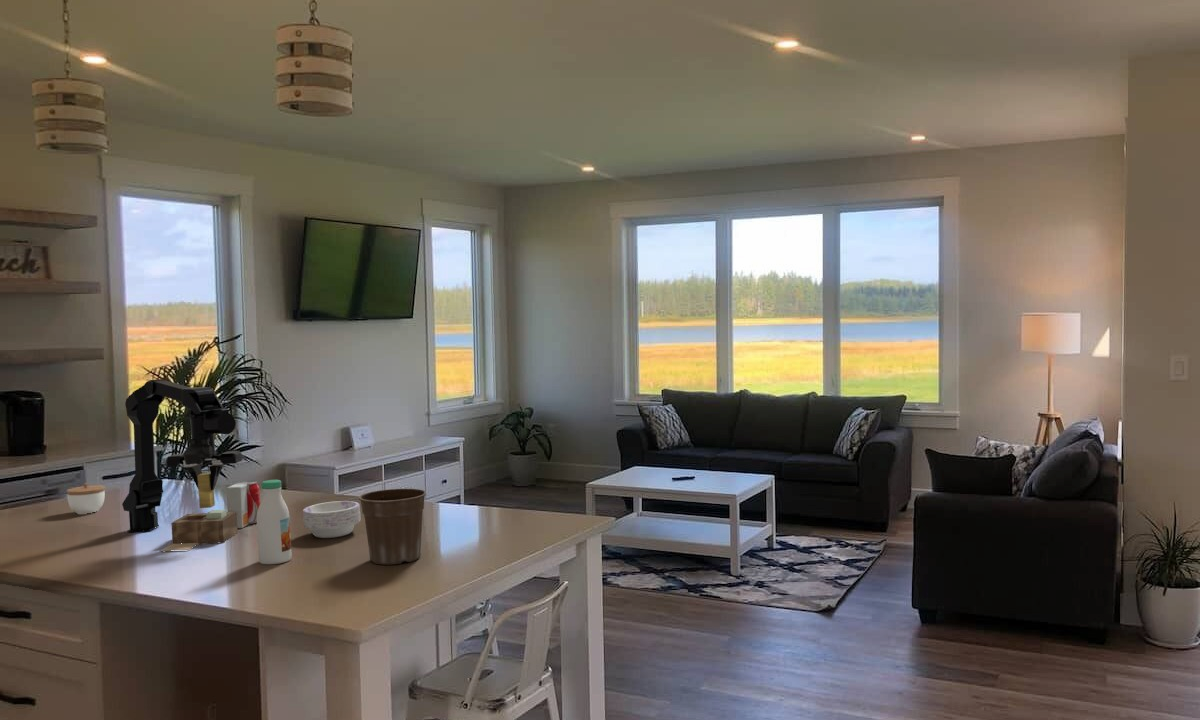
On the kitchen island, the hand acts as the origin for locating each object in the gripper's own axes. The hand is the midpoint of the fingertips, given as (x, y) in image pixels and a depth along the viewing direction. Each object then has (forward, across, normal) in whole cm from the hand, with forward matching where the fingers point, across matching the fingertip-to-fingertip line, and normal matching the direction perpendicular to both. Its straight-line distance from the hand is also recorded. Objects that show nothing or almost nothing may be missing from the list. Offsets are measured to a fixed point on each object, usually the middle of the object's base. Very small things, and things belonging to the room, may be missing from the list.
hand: (206, 490), depth 254 cm
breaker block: (+14, -1, 0) cm, 14 cm away
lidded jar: (+12, -55, +44) cm, 71 cm away
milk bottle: (+14, +26, -26) cm, 40 cm away
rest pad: (+14, -4, -9) cm, 17 cm away
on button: (+9, +2, 0) cm, 9 cm away
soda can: (+14, +4, +19) cm, 24 cm away
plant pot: (+15, +56, -29) cm, 65 cm away
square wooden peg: (+4, 0, 0) cm, 5 cm away
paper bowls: (+14, +34, 0) cm, 37 cm away
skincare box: (+14, +3, +14) cm, 20 cm away
